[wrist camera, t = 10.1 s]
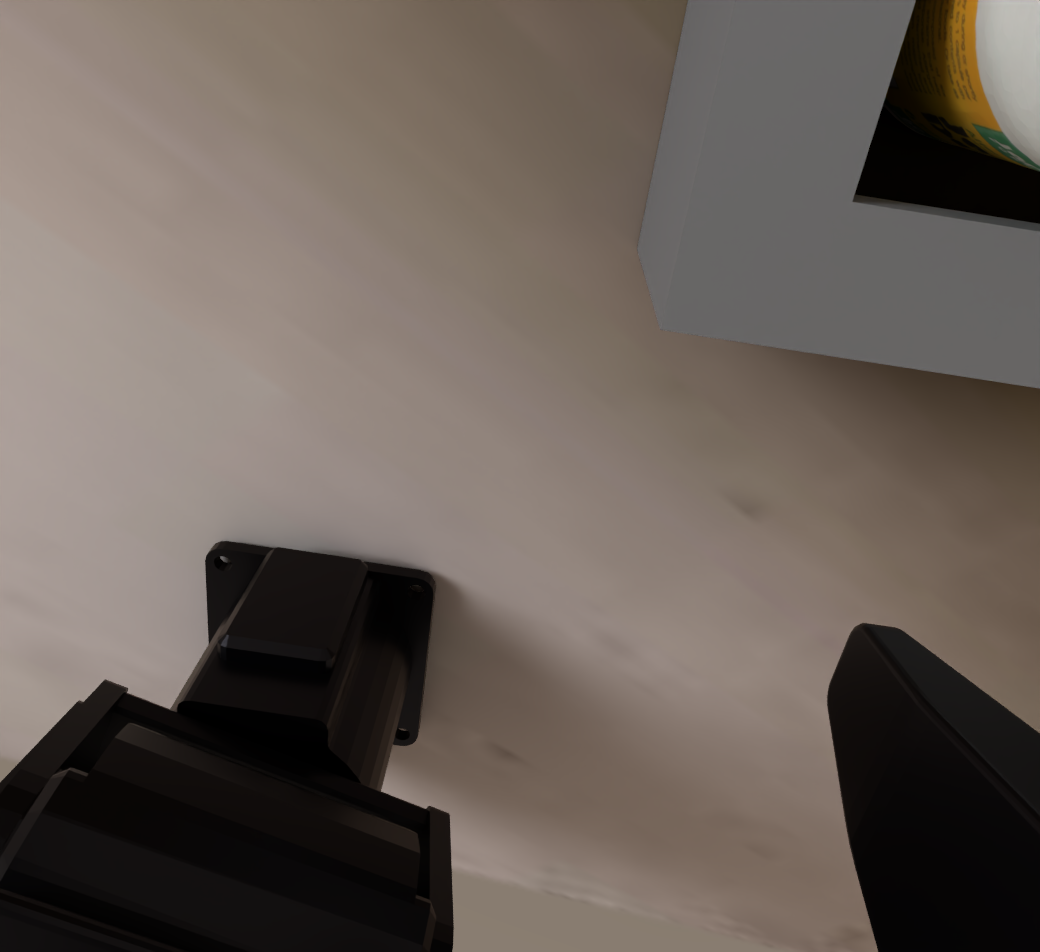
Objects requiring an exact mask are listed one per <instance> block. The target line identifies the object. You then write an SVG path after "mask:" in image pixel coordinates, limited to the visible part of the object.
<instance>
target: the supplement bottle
mask: <svg viewBox="0 0 1040 952" xmlns="http://www.w3.org/2000/svg"><path fill="white" fill-rule="evenodd" d="M883 106H884V107H885V108H886V109H887V110H888V111H889V112H890V113H891V114H892V115H893V116H894V117H895V118H896V119H897V120H899V121H900V122H901V123H903V124H904V125H905V126H907V127H908V128H910V129H911V130H913V131H915V132H917V133H919V134H921V135H924V136H926V137H929V138H932V139H935V140H939V141H941V142H945V143H949V144H952V145H956V146H959V147H962V148H965V149H968V150H972V151H976V152H978V153H981V154H985V155H987V156H991V157H994V158H998V159H1002V160H1005V161H1008V162H1011V163H1014V164H1017V165H1020V166H1023V167H1026V168H1030V169H1033V170H1036V171H1040V0H916V2H915V5H914V8H913V11H912V15H911V18H910V21H909V24H908V27H907V30H906V33H905V37H904V40H903V43H902V46H901V49H900V52H899V56H898V59H897V62H896V65H895V68H894V71H893V75H892V78H891V81H890V84H889V87H888V90H887V93H886V97H885V100H884V103H883Z"/></svg>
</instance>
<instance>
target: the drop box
mask: <svg viewBox="0 0 1040 952" xmlns="http://www.w3.org/2000/svg"><path fill="white" fill-rule="evenodd" d="M915 2H916V0H688V3H687V8H686V13H685V18H684V23H683V28H682V33H681V38H680V42H679V47H678V52H677V57H676V62H675V67H674V72H673V77H672V81H671V86H670V91H669V96H668V101H667V106H666V111H665V116H664V120H663V125H662V130H661V135H660V140H659V145H658V150H657V155H656V159H655V164H654V169H653V174H652V179H651V184H650V189H649V194H648V198H647V203H646V208H645V213H644V218H643V223H642V228H641V233H640V237H639V242H638V247H637V251H638V254H639V258H640V261H641V265H642V268H643V272H644V275H645V279H646V282H647V285H648V289H649V292H650V296H651V299H652V303H653V306H654V310H655V313H656V317H657V320H658V324H659V327H660V330H665V331H672V332H678V333H684V334H691V335H697V336H704V337H710V338H717V339H723V340H730V341H736V342H743V343H749V344H756V345H762V346H768V347H775V348H781V349H788V350H794V351H801V352H807V353H814V354H820V355H827V356H833V357H840V358H846V359H852V360H859V361H865V362H872V363H878V364H885V365H891V366H898V367H904V368H911V369H917V370H924V371H930V372H936V373H943V374H949V375H956V376H962V377H969V378H975V379H982V380H988V381H995V382H1001V383H1007V384H1014V385H1020V386H1027V387H1033V388H1040V224H1038V223H1032V222H1026V221H1019V220H1013V219H1007V218H1000V217H994V216H988V215H981V214H975V213H969V212H962V211H956V210H950V209H943V208H937V207H931V206H924V205H918V204H912V203H905V202H899V201H893V200H886V199H880V198H874V197H867V196H861V195H855V191H856V188H857V185H858V182H859V179H860V176H861V172H862V169H863V166H864V163H865V160H866V157H867V154H868V150H869V147H870V144H871V141H872V138H873V135H874V131H875V128H876V125H877V122H878V119H879V116H880V112H881V109H882V106H883V103H884V100H885V97H886V93H887V90H888V87H889V84H890V81H891V78H892V75H893V71H894V68H895V65H896V62H897V59H898V56H899V52H900V49H901V46H902V43H903V40H904V37H905V33H906V30H907V27H908V24H909V21H910V18H911V15H912V11H913V8H914V5H915Z"/></svg>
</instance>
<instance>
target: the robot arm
mask: <svg viewBox="0 0 1040 952" xmlns="http://www.w3.org/2000/svg"><path fill="white" fill-rule="evenodd" d="M220 556H224V557H227V558H228V559H229V560H230V561H231V563H226V562H224V561H223V560H221V559H220ZM205 565H206V588H207V612H208V635H209V645H208V647H207V648H206V650H205V652H204V653H203V655H202V657H201V658H200V660H199V662H198V663H197V665H196V667H195V669H194V670H193V672H192V674H191V675H190V677H189V679H188V680H187V682H186V684H185V685H184V687H183V689H182V690H181V692H180V694H179V695H178V697H177V699H176V700H175V702H174V704H173V705H172V707H171V709H168V708H165V707H162V706H160V705H157V704H155V703H152V702H150V701H147V700H144V699H142V698H139V697H137V696H134V695H132V694H129V693H127V691H128V688H126V687H124V686H121V685H118V684H116V683H113V682H111V681H108V680H106V679H105V680H104V681H103V682H102V683H101V684H100V685H99V686H98V687H97V689H96V690H95V691H94V692H93V693H92V694H91V695H90V696H89V697H88V698H87V699H86V700H85V701H84V702H82V701H78V702H77V703H76V704H75V705H74V706H73V707H72V708H71V709H70V710H69V711H68V712H67V713H66V714H65V715H64V716H63V717H62V718H61V719H60V721H59V722H58V723H57V724H56V725H55V726H54V727H53V728H52V729H51V730H50V731H49V732H48V733H47V734H46V735H45V736H44V737H43V738H42V739H41V740H40V741H39V743H38V744H37V745H36V746H35V747H34V748H33V749H32V750H31V751H30V752H29V753H28V754H27V755H26V756H25V757H24V758H23V759H22V760H21V761H20V762H19V763H18V765H17V766H16V767H15V768H14V769H13V770H12V771H11V772H10V773H9V774H8V775H7V776H6V777H5V778H4V779H3V780H2V781H1V782H0V952H452V949H453V928H454V927H453V900H452V899H453V898H452V869H451V840H450V815H449V813H446V812H444V811H441V810H439V809H436V808H434V807H431V806H428V807H427V809H424V808H422V807H419V806H417V805H414V804H412V803H409V802H406V801H404V800H401V799H399V798H396V797H394V796H391V795H388V794H386V793H383V792H381V789H382V785H383V781H384V777H385V773H386V769H387V765H388V761H389V757H390V753H391V749H392V745H400V746H407V745H410V744H413V743H414V742H415V741H416V739H417V737H418V732H419V728H420V720H421V711H422V702H423V694H424V685H425V676H426V667H427V659H428V650H429V641H430V632H431V624H432V615H433V606H434V598H435V589H436V585H435V580H434V579H433V577H432V576H431V575H430V574H428V573H427V572H424V571H421V570H416V569H410V568H403V567H396V566H390V565H383V564H376V563H369V562H363V561H361V560H359V559H352V558H346V557H339V556H332V555H326V554H319V553H312V552H306V551H299V550H292V549H286V548H269V547H263V546H256V545H249V544H243V543H236V542H229V541H221V542H218V543H216V544H215V545H214V546H213V547H212V548H211V550H210V551H209V553H208V554H207V556H206V560H205ZM412 585H418V586H421V587H422V588H423V589H424V591H420V592H417V591H415V590H413V589H412V588H411V587H410V586H412ZM827 706H828V714H829V720H830V726H831V733H832V739H833V746H834V752H835V758H836V765H837V771H838V778H839V784H840V791H841V797H842V803H843V810H844V816H845V822H846V828H847V833H848V838H849V844H850V848H851V852H852V856H853V860H854V864H855V868H856V872H857V875H858V879H859V883H860V886H861V890H862V894H863V897H864V901H865V905H866V908H867V912H868V916H869V919H870V923H871V927H872V930H873V934H874V938H875V941H876V945H877V948H878V952H1040V733H1038V732H1037V731H1036V730H1034V729H1033V728H1032V727H1030V726H1029V725H1028V724H1026V723H1025V722H1024V721H1022V720H1021V719H1020V718H1018V717H1017V716H1016V715H1014V714H1013V713H1012V712H1010V711H1009V710H1008V709H1006V708H1005V707H1004V706H1002V705H1001V704H1000V703H998V702H997V701H996V700H994V699H993V698H992V697H990V696H989V695H988V694H986V693H985V692H984V691H982V690H981V689H980V688H978V687H977V686H976V685H974V684H973V683H972V682H970V681H969V680H968V679H966V678H965V677H964V676H962V675H961V674H960V673H958V672H957V671H956V670H954V669H953V668H952V667H950V666H949V665H948V664H946V663H945V662H944V661H942V660H941V659H940V658H938V657H937V656H936V655H934V654H933V653H932V652H930V651H929V650H928V649H926V648H925V647H924V646H922V645H921V644H920V643H918V642H917V641H916V640H914V639H913V638H912V637H910V636H909V635H908V634H906V633H905V632H904V631H902V630H901V629H898V628H895V627H888V626H881V625H874V624H867V623H862V624H860V625H857V626H856V627H855V628H854V629H853V630H852V632H851V633H850V635H849V638H848V640H847V642H846V645H845V647H844V650H843V652H842V655H841V657H840V659H839V662H838V664H837V667H836V669H835V672H834V674H833V676H832V679H831V681H830V684H829V689H828V695H827ZM399 728H404V729H406V730H408V731H402V730H400V729H399Z"/></svg>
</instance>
